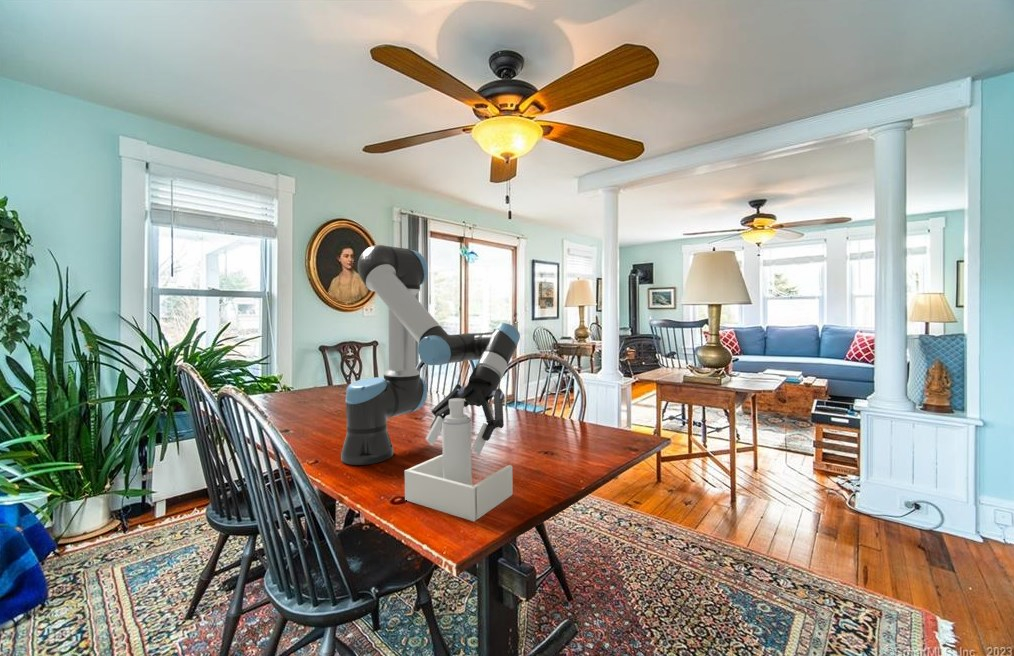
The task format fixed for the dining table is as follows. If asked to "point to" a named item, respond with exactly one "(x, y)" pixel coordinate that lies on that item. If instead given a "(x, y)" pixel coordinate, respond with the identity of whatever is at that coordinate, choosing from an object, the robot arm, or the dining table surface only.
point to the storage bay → (456, 490)
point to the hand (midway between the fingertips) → (451, 447)
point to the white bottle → (457, 444)
